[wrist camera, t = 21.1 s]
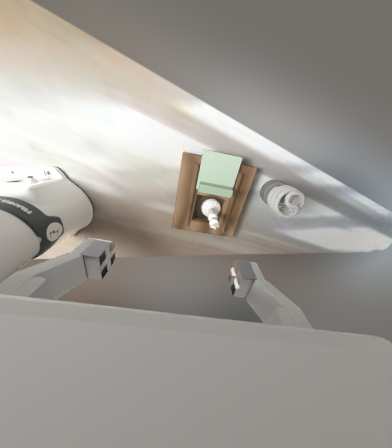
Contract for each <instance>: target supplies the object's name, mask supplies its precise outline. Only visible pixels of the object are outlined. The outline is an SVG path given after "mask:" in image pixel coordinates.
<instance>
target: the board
mask: <svg viewBox="0 0 392 448" xmlns="http://www.w3.org/2000/svg"><path fill="white" fill-rule="evenodd" d="M201 160H202V156H201V155H197V154H192V153H187V152H183V155H182V162H181V169H180V176H179V183H178V190H177V198H176V205H175V212H174V219H173V226H172V228H177V229H184V230H190V231H196V232H202V233H208V234H214V235H220V236H226V237H232V235H233V233H234V230H235V227H236V224H237V222H238V219H239V216H240V214H241V211H242V208H243V205H244V203H245V200H246V197H247V195H248V192H249V189H250V186H251V184H252V181H253V178H254V176H255V173H256V170H257V168H255V167H253V166H248V165H244V164H241V165H240V168H239V171H238V174H237V177H236V180H235V184H234V187H233V194H232V197H231V198H228V197H223V196H218V195H212V194H207V193H202V192H198V189H196V185H197V180H198V175H199V170H200V165H201ZM208 199H215V200H217V201H218V202H219V203H220V205H221V210H220V213H219V214H218V215H217V216H218V219H217V220H218V222H219V224H218V225H219V227H217V228H216V229H214V228H210V225H209V222H210V221H209V220H208V217H207V216H205V215H204V214H203V212H202V209H201V207H202V204H203V202H204V201H206V200H208Z"/></svg>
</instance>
